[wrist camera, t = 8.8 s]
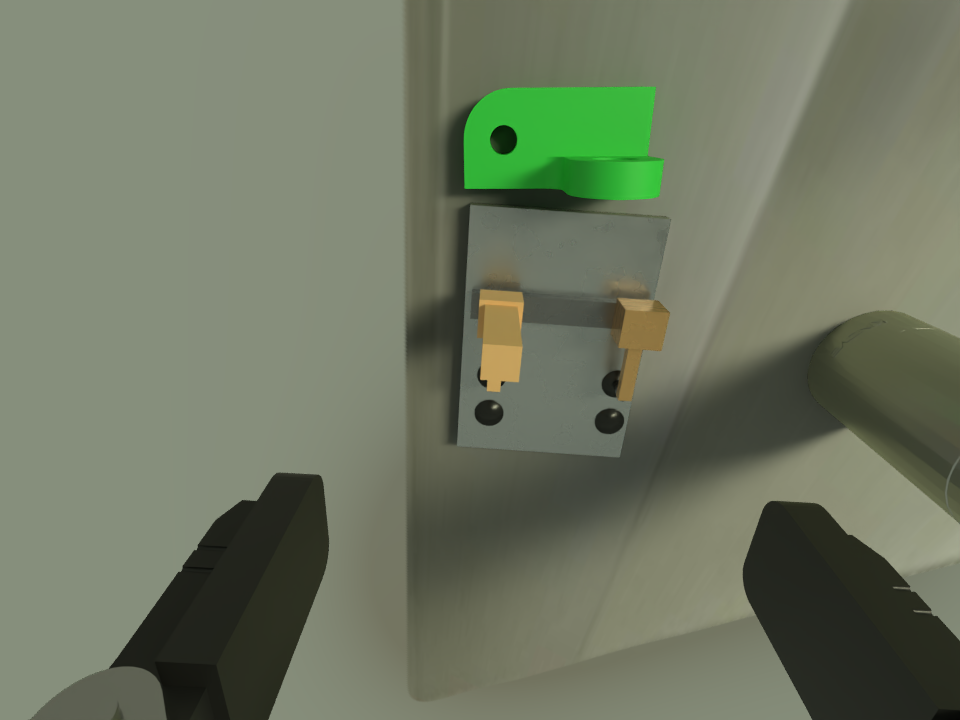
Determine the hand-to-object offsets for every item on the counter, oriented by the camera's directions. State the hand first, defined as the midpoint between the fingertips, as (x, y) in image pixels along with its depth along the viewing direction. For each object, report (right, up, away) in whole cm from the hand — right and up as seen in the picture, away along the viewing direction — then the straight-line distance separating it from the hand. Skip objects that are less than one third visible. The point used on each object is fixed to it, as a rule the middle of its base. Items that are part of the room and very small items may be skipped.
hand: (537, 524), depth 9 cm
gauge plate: (+5, +5, +31) cm, 32 cm away
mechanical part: (+4, +18, +26) cm, 32 cm away
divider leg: (0, +5, +30) cm, 30 cm away
